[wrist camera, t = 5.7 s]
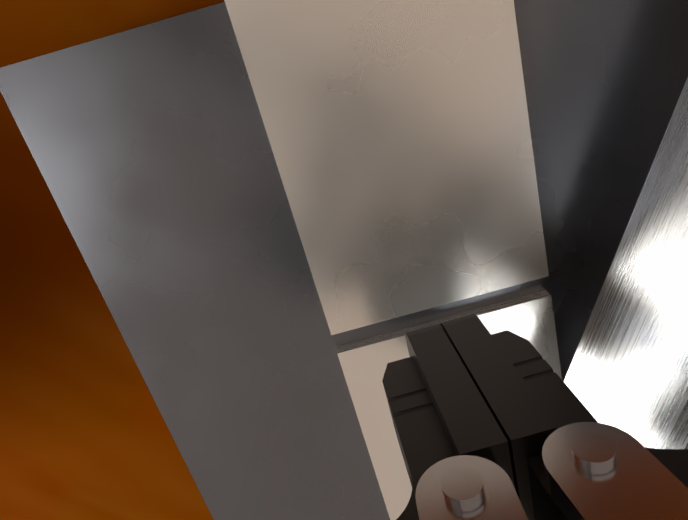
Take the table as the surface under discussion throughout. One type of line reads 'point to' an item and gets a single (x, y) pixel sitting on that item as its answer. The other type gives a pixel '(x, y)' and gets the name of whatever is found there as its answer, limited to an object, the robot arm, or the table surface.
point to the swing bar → (644, 310)
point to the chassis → (343, 208)
